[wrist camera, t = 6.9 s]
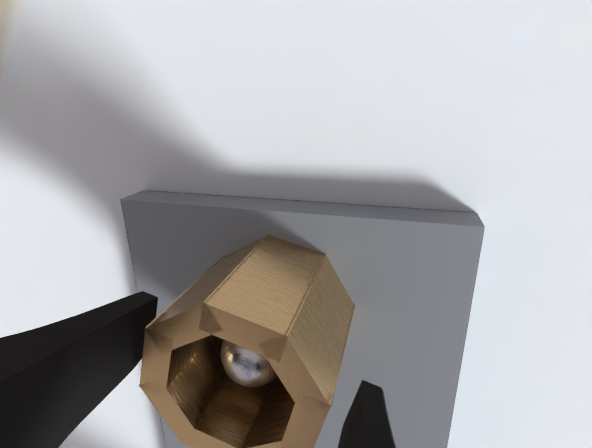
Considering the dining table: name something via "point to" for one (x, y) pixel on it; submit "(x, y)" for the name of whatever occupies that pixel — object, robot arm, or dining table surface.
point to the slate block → (355, 278)
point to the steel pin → (246, 366)
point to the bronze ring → (256, 337)
